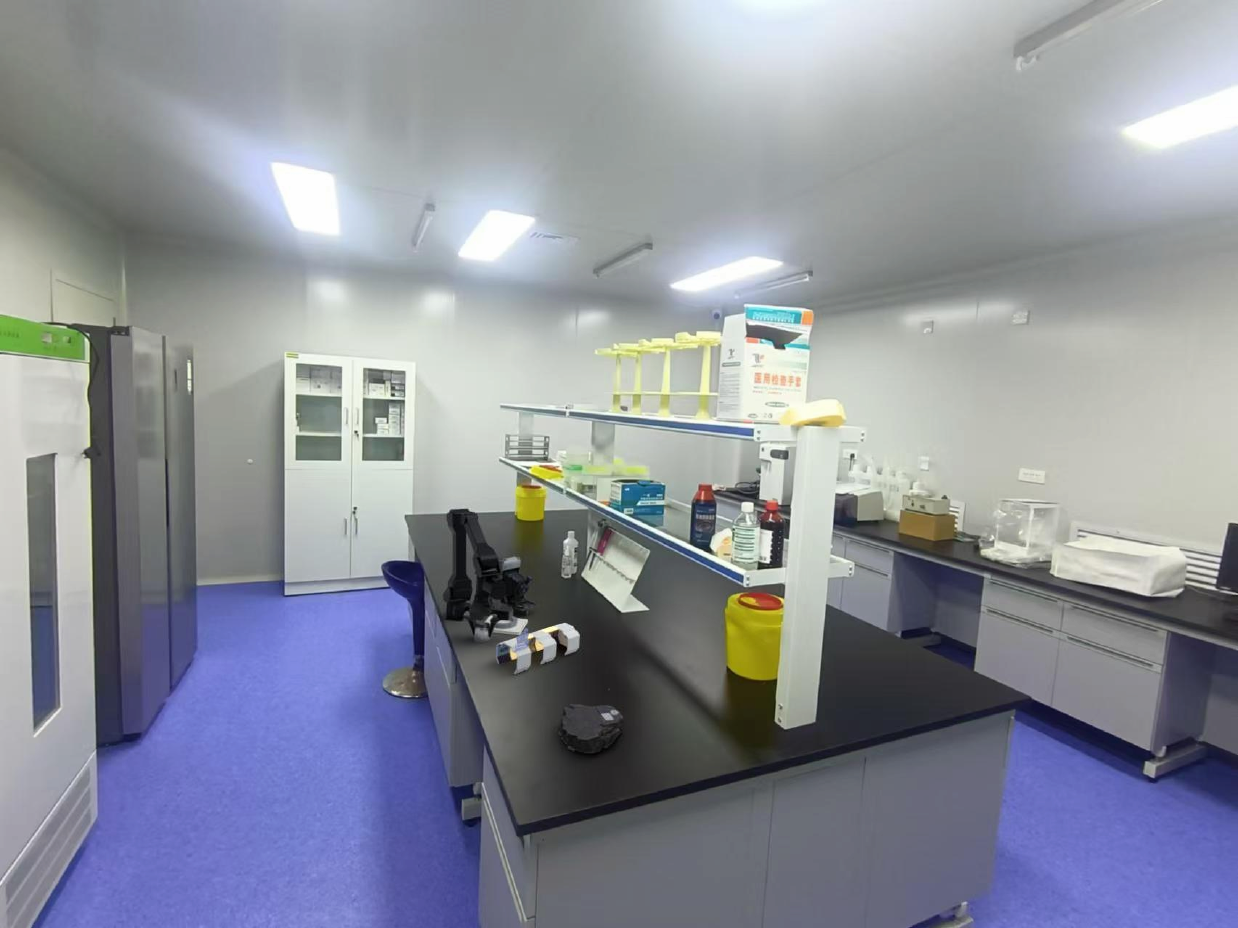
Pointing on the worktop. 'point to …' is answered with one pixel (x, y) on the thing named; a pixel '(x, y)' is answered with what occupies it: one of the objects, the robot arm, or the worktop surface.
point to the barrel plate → (512, 630)
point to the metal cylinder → (482, 632)
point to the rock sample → (590, 726)
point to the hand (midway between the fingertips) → (482, 635)
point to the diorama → (537, 645)
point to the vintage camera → (514, 585)
